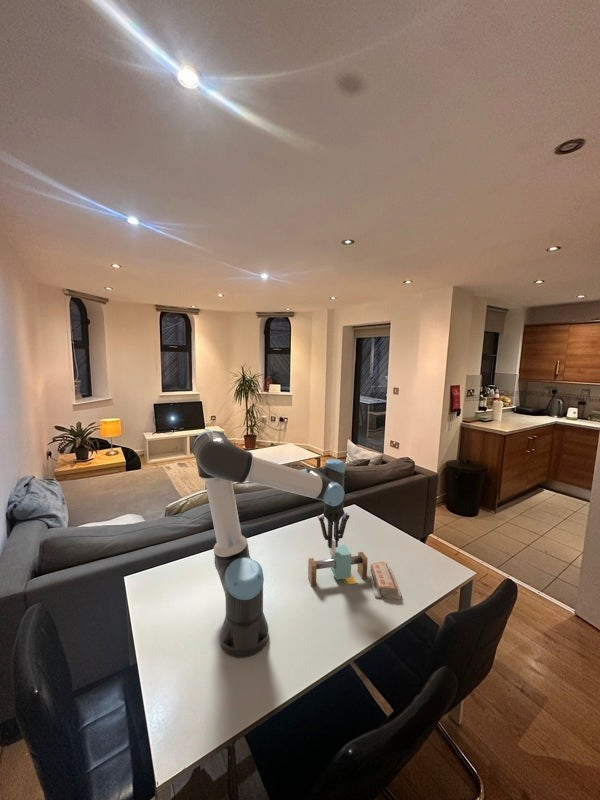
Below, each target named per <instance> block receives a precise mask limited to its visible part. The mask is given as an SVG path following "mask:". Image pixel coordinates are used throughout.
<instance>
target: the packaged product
mask: <svg viewBox="0 0 600 800" xmlns="http://www.w3.org/2000/svg"><path fill="white" fill-rule="evenodd" d="M367 575H368V576H369V579H370V583H371V584H370V585H371V587H372V591H373V594H374V598H375V599H388V600H389V599H392V600H393V599H395V600H401V599H402V594H401V592H400V589H399V586H398V583H397V581H396V577H395V576H394V573H393V571H392V568H391V566H388V563H387V562H385V561H378V562H375V563H371V565H370V566H367Z"/></svg>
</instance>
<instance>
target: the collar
mask: <svg viewBox="0 0 600 800" xmlns="http://www.w3.org/2000/svg"><path fill="white" fill-rule="evenodd" d="M351 556H352V553H351V551H350V550H349V548H348V547H347V545H346V544H342V545H338V547H336V551H335V557H332V556H331V555H330V557H331V558H330V559H334V560H335V562H336V567H331V568H330V570H331V572H332V574H333V576H334V578H335V580H342V579H343V578H350V577H351V573H352V565H351Z"/></svg>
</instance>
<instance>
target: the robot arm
mask: <svg viewBox="0 0 600 800" xmlns="http://www.w3.org/2000/svg"><path fill="white" fill-rule="evenodd" d="M192 454H193V456H194V457H195V462H196V463H195V464H196V466H197V473H198V477H199V478H200V479H202V480H204V482H205V483H204V484H205V488H206V493H207V498H208V502H209V508H210V513H211V514H210V515H211V518H212V519H211V520H212V523H213V524H212V525H213V529H214V534H215V540H216V543H215V544H214V546H213V554H214V560H213V561H214V567H215V570H216V571H217V574H218V577H219V579H220V583H221V585H222V588H223V589H222V590H223V592H224V596H225V618H224V620H223V623H222V626H221V629H220V634H219V643H220V646H221V649H222V650H223V651H224V652H225V653H226V654H227V655H229V656H231V657H234V658H247V657H251V656H254V655H256V654H257V653H259V652H260V651H262V649H264V647H265V646H266V644H267V642H268V639H269V624H268V622H267V619H266V616H265V613H264V580H265V579H264V572H263V571H264V570H263V568H262V566H261V564H260V563H259V562H258V561H257V560H256V559H252V557H251V555H250V550H249V545H248V539H247V537H245V536H244V535H243V534H242V529H241V524H240V519H239V518H240V517H239V512H238V508H237V507H238V506H237V502H236V501H237V500H236V497H235V496H236V495H235V490H234V484H233V482H234V483H237V484H245V483H246V482H249V483H252V484H256V485H260V486H264V487H267V488H268V487H269V488H271V489H275V490H280V491H284V492H288V493H292V494H295V495H299V496H300V495H301V496H302V497H309V498H312V499H315V500H319V501H321V502H324V507H323V511H322V514H320V515H317V520H318V521H319V523H320V528H321V531H322V536H323V538H324V540H325V541H327V547H328V548H329V554H330V557H331V556H332V557H335V551H336V547H338V546H339V541H340V539H343V537H344V534H345V530H346V526H347V522H348V521H349V519H350V514H348V512H345V510H344V498H345V462H344V461H343V460H341V459H339V458H329V459H326V460H325V462H324V465H323V466H319V467H311V468H304V469H297V468H293V467H290V466H287V465H283V464H279V463H278V462H272V461H269V460H266V459H262V458H260V457H256V456H254V455H253V452H250V451H247V450H245V449H242V448H240V447H239V446H236V445H235V444H234V443H233V442H232V441H230V439H228V437H227V436H226V435H225V434H224V433H223V432H220V431H218V430H214V429H213V430H212V429H210V430H209V429H208V430H205V431H203V432H201V433H200V434H199V435H197V436H196V438H195V440H194V442H193V444H192ZM325 518H326V520H327V528H326V524H325Z"/></svg>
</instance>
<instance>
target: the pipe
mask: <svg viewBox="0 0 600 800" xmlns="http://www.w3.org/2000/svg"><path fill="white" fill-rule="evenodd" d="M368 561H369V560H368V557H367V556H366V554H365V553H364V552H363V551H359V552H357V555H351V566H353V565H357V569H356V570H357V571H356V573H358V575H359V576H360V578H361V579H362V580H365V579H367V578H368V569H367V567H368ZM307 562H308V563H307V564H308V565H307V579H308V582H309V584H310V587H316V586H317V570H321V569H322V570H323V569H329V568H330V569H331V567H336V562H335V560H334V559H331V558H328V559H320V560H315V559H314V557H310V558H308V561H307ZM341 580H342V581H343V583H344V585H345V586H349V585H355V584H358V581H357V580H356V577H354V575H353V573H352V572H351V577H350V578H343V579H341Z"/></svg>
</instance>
